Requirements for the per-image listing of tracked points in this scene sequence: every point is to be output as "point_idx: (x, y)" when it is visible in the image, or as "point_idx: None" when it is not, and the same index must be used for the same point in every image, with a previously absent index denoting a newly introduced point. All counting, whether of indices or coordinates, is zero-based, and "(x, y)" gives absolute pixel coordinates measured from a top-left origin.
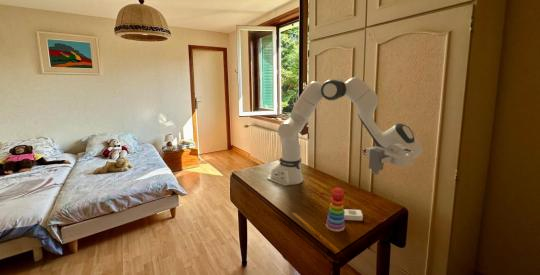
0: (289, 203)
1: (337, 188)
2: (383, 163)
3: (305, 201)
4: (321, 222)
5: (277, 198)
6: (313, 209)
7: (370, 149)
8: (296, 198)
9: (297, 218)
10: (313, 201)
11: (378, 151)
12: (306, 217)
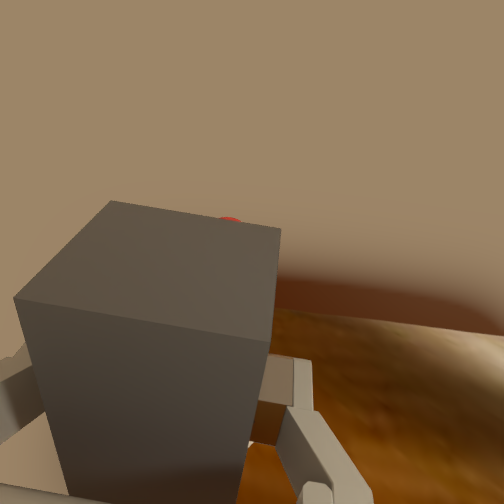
0: (436, 361)
1: (229, 219)
2: (65, 471)
3: (436, 414)
4: (271, 352)
5: (488, 355)
6: (360, 392)
7: (274, 228)
8: (474, 405)
9: (331, 321)
10: (426, 441)
11: (118, 209)
12: (322, 341)
